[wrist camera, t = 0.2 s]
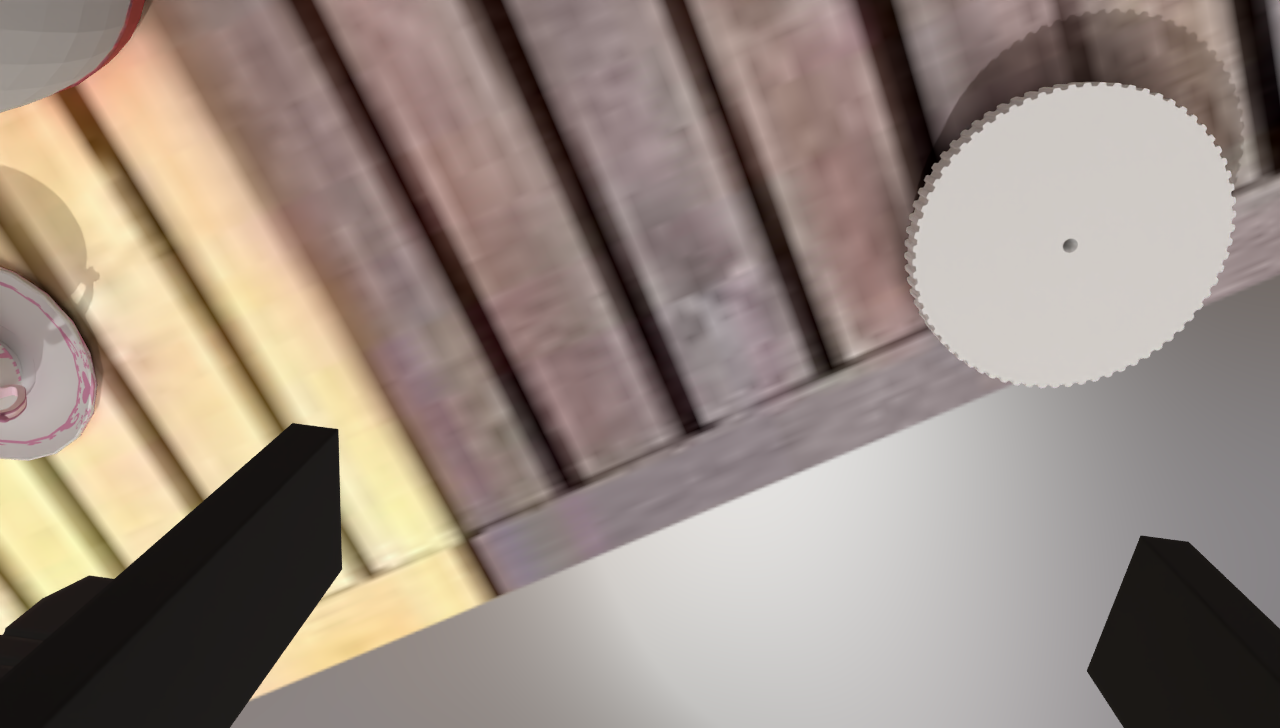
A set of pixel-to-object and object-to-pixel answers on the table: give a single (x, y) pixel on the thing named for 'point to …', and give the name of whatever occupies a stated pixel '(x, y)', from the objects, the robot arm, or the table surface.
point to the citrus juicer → (58, 44)
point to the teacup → (40, 373)
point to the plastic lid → (1070, 233)
